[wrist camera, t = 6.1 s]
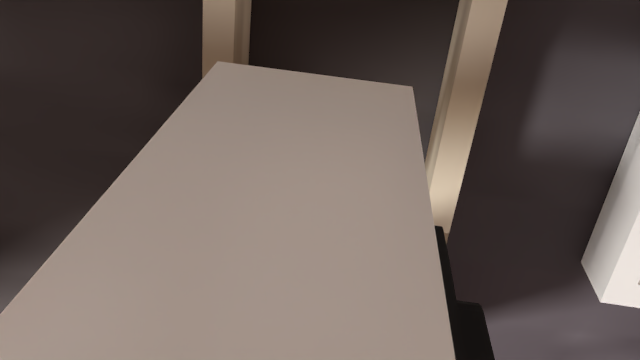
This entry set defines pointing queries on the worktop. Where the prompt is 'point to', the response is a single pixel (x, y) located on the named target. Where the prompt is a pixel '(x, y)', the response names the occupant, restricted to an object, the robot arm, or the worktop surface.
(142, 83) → the worktop surface
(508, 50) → the worktop surface
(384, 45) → the worktop surface
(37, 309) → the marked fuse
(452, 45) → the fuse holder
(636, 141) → the tray
